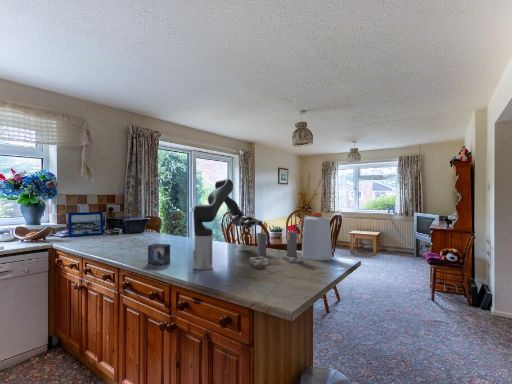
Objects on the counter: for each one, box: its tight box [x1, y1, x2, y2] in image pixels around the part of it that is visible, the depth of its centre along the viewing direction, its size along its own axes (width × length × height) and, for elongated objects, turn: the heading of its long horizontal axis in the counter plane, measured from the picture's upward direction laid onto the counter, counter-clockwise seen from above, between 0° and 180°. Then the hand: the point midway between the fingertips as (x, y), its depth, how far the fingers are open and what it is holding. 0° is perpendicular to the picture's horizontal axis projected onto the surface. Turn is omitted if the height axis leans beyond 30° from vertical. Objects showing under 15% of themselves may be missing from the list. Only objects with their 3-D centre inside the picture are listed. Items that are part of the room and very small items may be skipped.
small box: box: [147, 243, 171, 266], centre depth 155 cm, size 11×6×10 cm, turn 76°
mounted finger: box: [285, 230, 298, 257], centre depth 157 cm, size 5×4×16 cm
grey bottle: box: [301, 211, 333, 261], centre depth 167 cm, size 15×15×28 cm
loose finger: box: [256, 232, 268, 258], centre depth 163 cm, size 5×4×16 cm
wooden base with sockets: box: [248, 254, 303, 269], centre depth 154 cm, size 28×9×4 cm, turn 111°
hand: (255, 224), depth 173 cm, fingers open, 8 cm apart
